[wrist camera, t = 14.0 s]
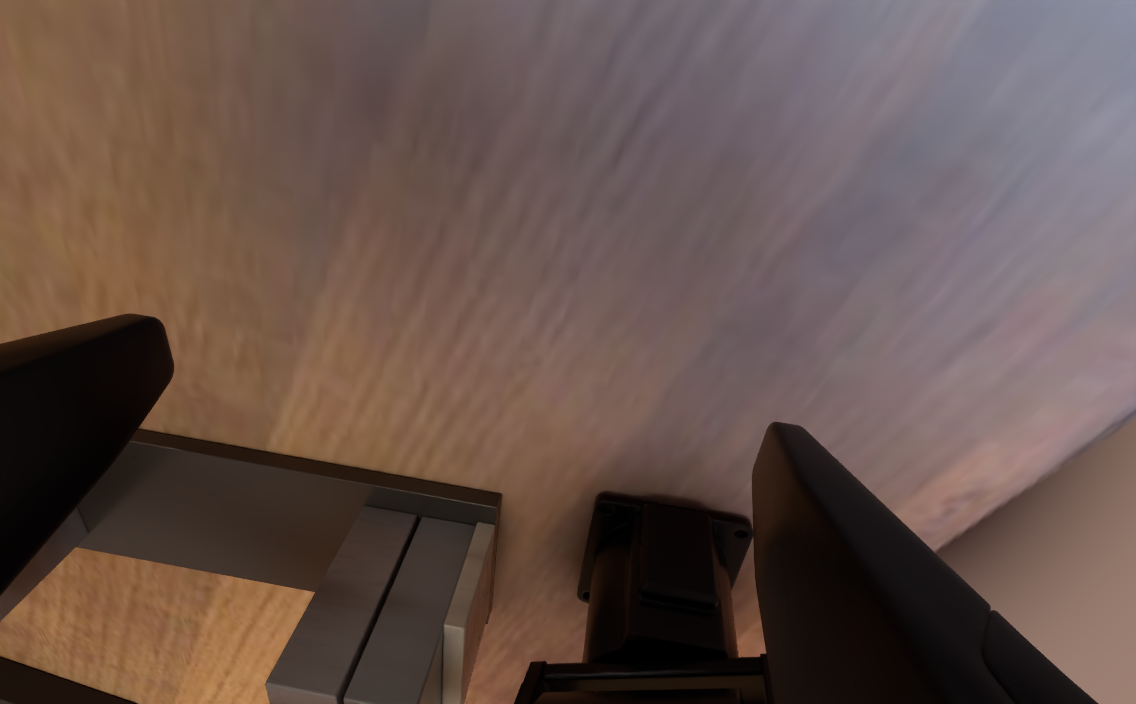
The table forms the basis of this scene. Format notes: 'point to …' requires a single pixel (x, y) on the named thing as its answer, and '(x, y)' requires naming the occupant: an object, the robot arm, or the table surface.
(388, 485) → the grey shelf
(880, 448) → the table surface
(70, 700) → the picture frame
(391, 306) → the table surface
